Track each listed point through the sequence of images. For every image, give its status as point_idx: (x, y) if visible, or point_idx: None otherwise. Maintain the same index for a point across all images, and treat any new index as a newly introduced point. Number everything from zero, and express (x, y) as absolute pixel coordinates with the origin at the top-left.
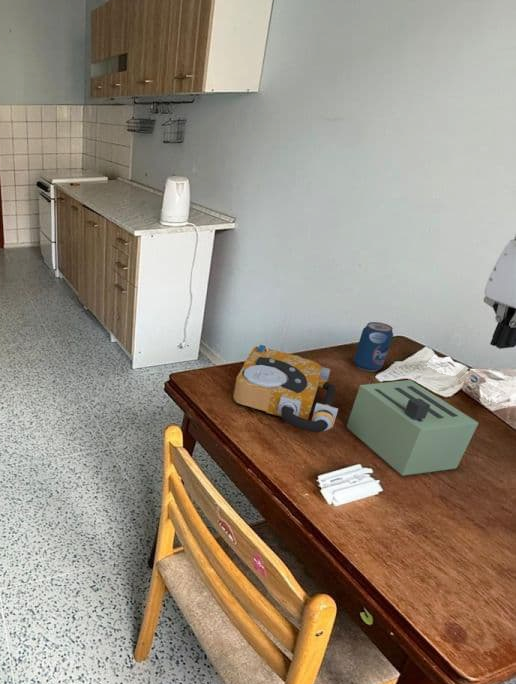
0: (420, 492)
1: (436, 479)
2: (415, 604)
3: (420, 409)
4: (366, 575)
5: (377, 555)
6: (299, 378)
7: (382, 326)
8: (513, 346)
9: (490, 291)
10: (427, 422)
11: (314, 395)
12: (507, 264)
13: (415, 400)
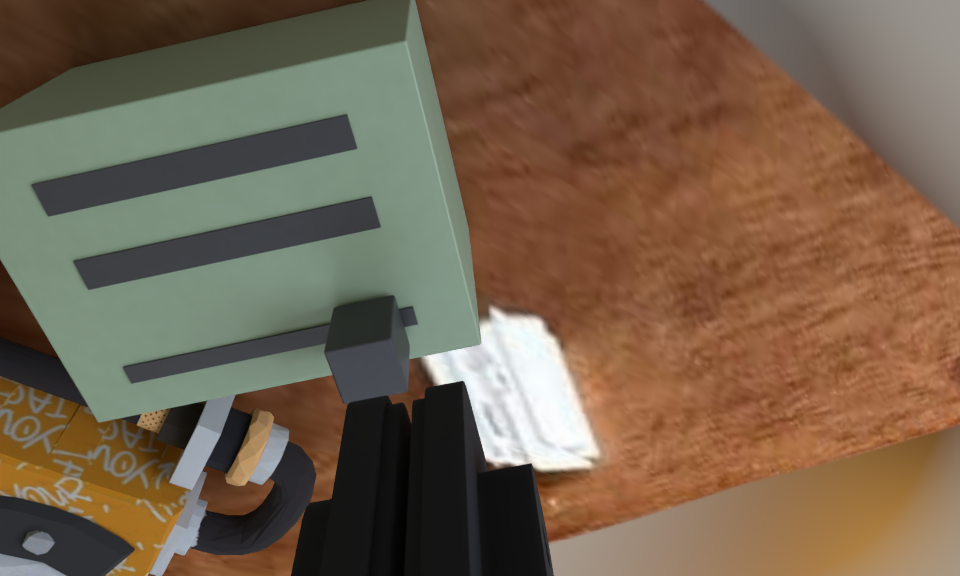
0: (551, 210)
1: (483, 116)
2: (897, 409)
3: (405, 368)
4: (811, 466)
5: (765, 426)
6: (5, 528)
7: None
8: (468, 398)
9: None
10: (420, 291)
11: (131, 496)
12: None
13: (349, 381)
